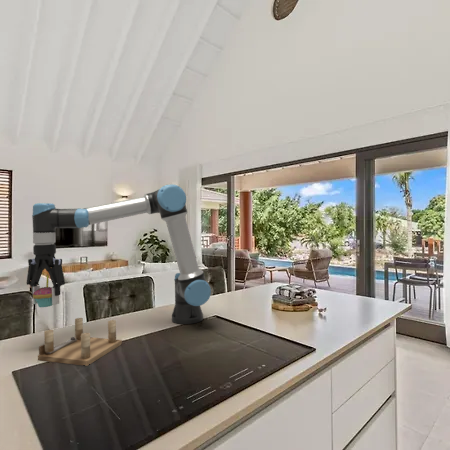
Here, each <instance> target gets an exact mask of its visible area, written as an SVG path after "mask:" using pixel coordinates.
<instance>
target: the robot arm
mask: <svg viewBox="0 0 450 450" xmlns="http://www.w3.org/2000/svg"><path fill="white" fill-rule="evenodd" d="M186 204H187V195H186V192H185V191H184V189H183V188H182V187H180V186H179V185H177V184H173V183H171V184H170V183H169V184H166V185H162V187H160V188H159V189H157V190H155V191H152V192H149V193H144V195H143V196H140V197H135V198H131V199H129V198H128V199H125V200H121V201H120V200H119V201H115V202H114V201H113V202H110V203H104V204H103V203H102V204H99V205H93V206H89V207H84V208H56V205H55V204H54V203H48V202H47V203H46V202H44V203H43V202H42V203H40V202H39V203H35V204H33V205H32V215H31V218H32V243H33V249H32V250H33V255H34V258H29V259H28V260H27V263H28V264H27V265H28V268H27V269H28V270H27V276H26V285H28V286H29V287H31V295H32V296H33V293H34V292H35V291H36V290H38V289H40V288H41V286H40V279H41V276H42V274H43V271H44V270H46V272H47V274H48V276H49V278H50V281H51V283H52V306H55V305H58V304H60V295H61V287H62V286H64V285H65V284H66V280H65V276H64V271H63V259H62V258H56V255H55V254H56V253H57V245H56V239H57V238H56V229H82V228H88V227H89V226H90V225H95V224H101V223H105V222H109V221H114V220H118V219H125V218H128V217H133V216H137V215H143V214H148V215H153V214H160V215H159V216H160V218H161V220H162V221H164V222H165V223H166V227H167V232H168V234H169V237H170V238H169V239H170V241H171V245H172V249H173V251H174V252H173V253H174V256H175V259H176V264H177V267H178V270H179V272H177V273H175V274H174V307H173V311H172V313H171V322H172V323H174V324H180V325H190V324H191V325H192V324H197V323H200V322H202V321H203V319H204V314H203V311H202V307H201V306H203V305H204V304H205V303H207V302H208V301H209V299H210V298H211V293H212V289H211V286H210V285H209V282H207V281H206V277H205V273H204V270H202V269H200V267H199V264H198V259H197V256H196V253H195V249H194V248H195V247H194V246H193V241H192V238H191V234H190V230H189V226H188V223H187V218H186V215H188V210H187V206H186ZM36 304H37V301H36V300H35V299H34V298H33V297H32V305H36Z"/></svg>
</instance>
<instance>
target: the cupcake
mask: <svg viewBox="0 0 450 450" xmlns="http://www.w3.org/2000/svg"><path fill="white" fill-rule="evenodd" d="M49 278H50V276H49V275H46V283H45V284H46V285H45V286H44V287H43V286H41V287H40V289H38V290H36V291H35V292H34V293H33V295H32V299H33V298H34V299H35V300H36V301H37V303H36V304H37V306H38V308H47V307H51V306H53V305H52V287H53V286H52V287H51V286H49Z"/></svg>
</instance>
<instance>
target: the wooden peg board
mask: <svg viewBox="0 0 450 450" xmlns="http://www.w3.org/2000/svg"><path fill="white" fill-rule="evenodd" d="M83 323H84V321H83V318H82V317H77V318H75V319H74V337H75V339H77V341H75V342H73V343H71V344H69V345H67V346H65V347H63V348H60V349H58V350H56V351H54V352H52V353H46V352H45V343H44V344H42V345H40V346H38V355H37V361H41V362H50V363H59V364H68V365H77V366H83V365H85V367H88V366H90V365H92V364H93V363H94V362H95V361H97V360H99V359H101V358H102V357H104V356H105V355H107V354H108V353H110V352H112V351H113V350H115V349H117V348H119V347H120V346H121V345H122V344H123V341H122V339H117V329H116V328H117V321H116V319H112V320H108V321H107V332H108V333H107V335H108V336H107V337H108V338H103V337H102V338H101V337H94V336H93V337H91V333H90V332H84V325H83ZM89 364H90V365H89Z"/></svg>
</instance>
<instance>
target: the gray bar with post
mask: <svg viewBox="0 0 450 450" xmlns="http://www.w3.org/2000/svg"><path fill="white" fill-rule="evenodd" d="M54 334H55V333H54V329H47V330H44V336H43V337H44V344H45V352H46V353H52V352H54V351H56V350H58V349H60V348H63V347H65V346H67V345H69V344H71V343H73V342H75V341H77V339H75V336H72V337H70V339H68V340H66V341H64V342H62V343H60V344H58V345H56V346H54V345H55V343H54V342H55V340H54V336H55V335H54Z"/></svg>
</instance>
